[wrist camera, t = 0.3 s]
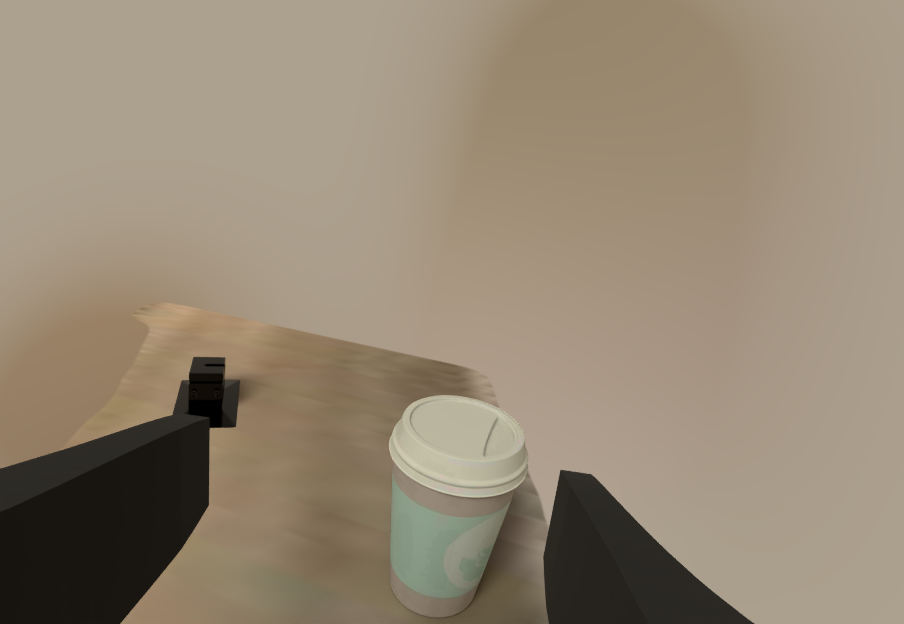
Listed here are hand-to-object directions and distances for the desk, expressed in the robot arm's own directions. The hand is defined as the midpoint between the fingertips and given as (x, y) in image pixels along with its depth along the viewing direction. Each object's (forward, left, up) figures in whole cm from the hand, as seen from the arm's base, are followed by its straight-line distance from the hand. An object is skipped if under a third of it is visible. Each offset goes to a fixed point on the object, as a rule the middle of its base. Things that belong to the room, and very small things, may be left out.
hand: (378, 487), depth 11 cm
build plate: (+37, +20, -22) cm, 47 cm away
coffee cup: (+19, -3, -21) cm, 29 cm away
